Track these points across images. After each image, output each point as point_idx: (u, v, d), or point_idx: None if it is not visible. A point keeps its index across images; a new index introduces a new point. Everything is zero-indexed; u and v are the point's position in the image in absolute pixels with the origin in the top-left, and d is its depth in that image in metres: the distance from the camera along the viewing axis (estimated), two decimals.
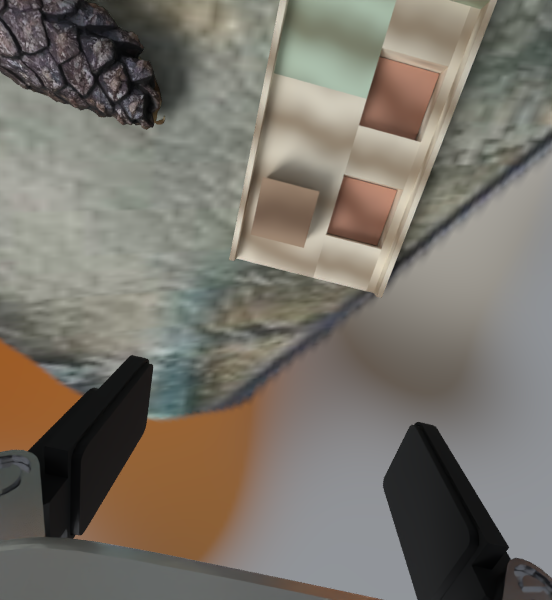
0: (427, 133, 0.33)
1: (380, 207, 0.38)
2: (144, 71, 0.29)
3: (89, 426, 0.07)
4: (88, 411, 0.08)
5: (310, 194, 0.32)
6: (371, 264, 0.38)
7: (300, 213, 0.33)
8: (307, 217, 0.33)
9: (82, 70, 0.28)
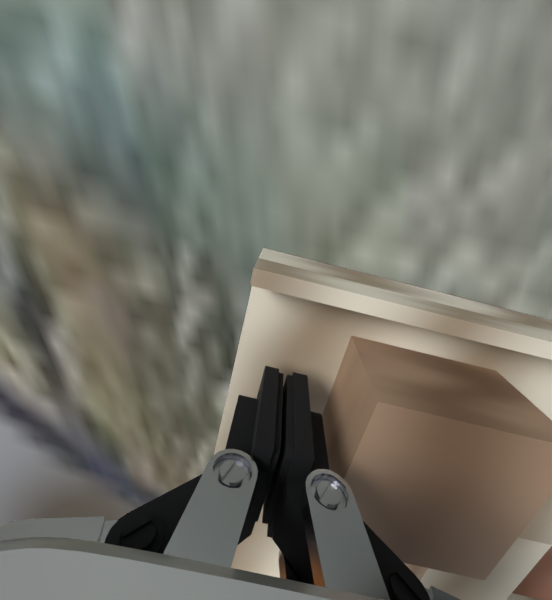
0: None
1: None
2: None
3: (275, 428, 0.08)
4: (266, 416, 0.09)
5: (481, 563, 0.10)
6: (251, 566, 0.17)
7: (428, 539, 0.10)
8: (413, 553, 0.10)
9: None
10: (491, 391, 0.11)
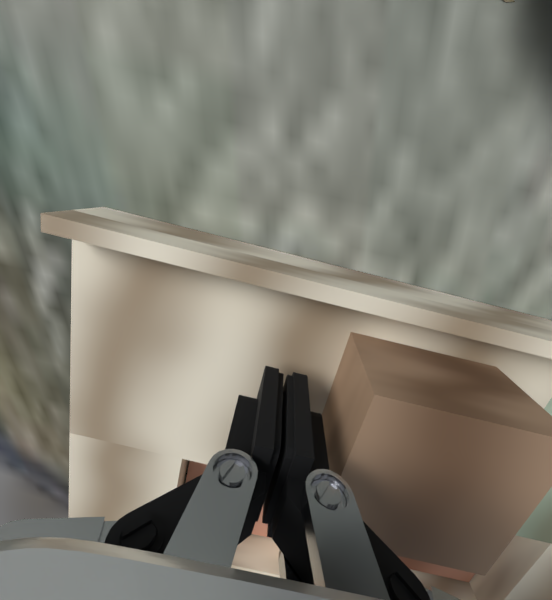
0: None
1: None
2: None
3: (275, 428, 0.08)
4: (266, 416, 0.09)
5: (481, 558, 0.10)
6: None
7: (427, 533, 0.10)
8: (412, 547, 0.10)
9: None
10: (490, 386, 0.11)
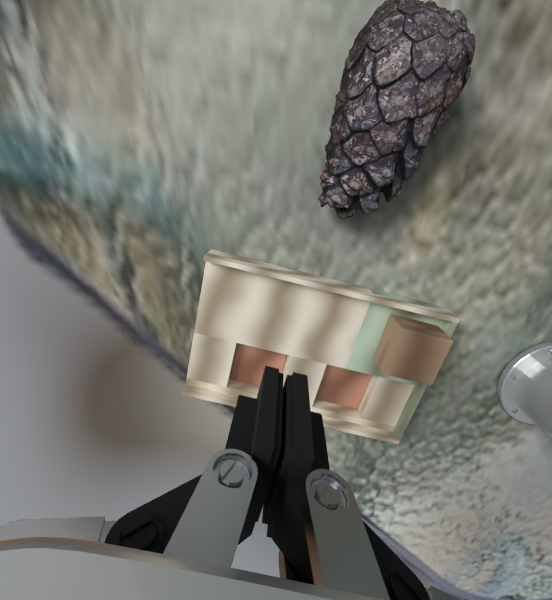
0: (317, 410, 0.43)
1: None
2: (368, 209, 0.30)
3: (275, 429, 0.08)
4: (266, 416, 0.09)
5: (430, 379, 0.36)
6: (212, 380, 0.42)
7: (414, 371, 0.35)
8: (410, 376, 0.36)
9: (365, 156, 0.26)
10: (433, 329, 0.36)
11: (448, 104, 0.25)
